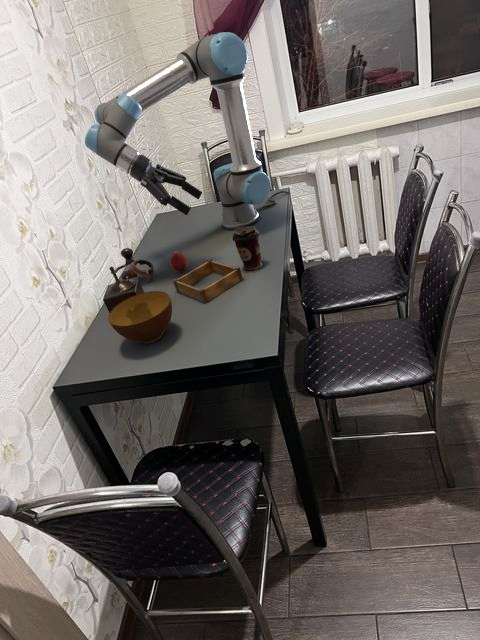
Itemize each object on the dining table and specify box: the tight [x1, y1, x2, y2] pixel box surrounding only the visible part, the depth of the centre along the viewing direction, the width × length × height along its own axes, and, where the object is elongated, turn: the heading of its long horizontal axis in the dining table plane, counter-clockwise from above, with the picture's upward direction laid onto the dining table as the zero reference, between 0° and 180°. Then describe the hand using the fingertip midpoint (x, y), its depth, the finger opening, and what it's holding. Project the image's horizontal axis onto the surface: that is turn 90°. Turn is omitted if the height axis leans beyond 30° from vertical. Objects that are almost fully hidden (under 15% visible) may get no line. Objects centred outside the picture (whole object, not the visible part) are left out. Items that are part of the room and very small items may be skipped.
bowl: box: [107, 290, 173, 344], centre depth 132 cm, size 18×18×10 cm
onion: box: [170, 250, 188, 273], centre depth 165 cm, size 6×6×8 cm
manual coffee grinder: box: [102, 247, 146, 314], centre depth 147 cm, size 16×11×18 cm
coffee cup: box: [232, 225, 263, 271], centre depth 154 cm, size 9×8×13 cm
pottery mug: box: [120, 259, 155, 283], centre depth 167 cm, size 12×10×8 cm
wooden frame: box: [172, 258, 244, 304], centre depth 152 cm, size 16×16×4 cm
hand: (195, 203), depth 150 cm, fingers open, 13 cm apart
